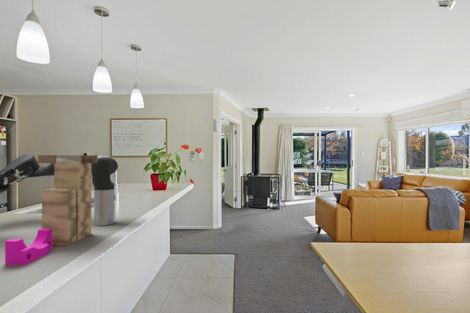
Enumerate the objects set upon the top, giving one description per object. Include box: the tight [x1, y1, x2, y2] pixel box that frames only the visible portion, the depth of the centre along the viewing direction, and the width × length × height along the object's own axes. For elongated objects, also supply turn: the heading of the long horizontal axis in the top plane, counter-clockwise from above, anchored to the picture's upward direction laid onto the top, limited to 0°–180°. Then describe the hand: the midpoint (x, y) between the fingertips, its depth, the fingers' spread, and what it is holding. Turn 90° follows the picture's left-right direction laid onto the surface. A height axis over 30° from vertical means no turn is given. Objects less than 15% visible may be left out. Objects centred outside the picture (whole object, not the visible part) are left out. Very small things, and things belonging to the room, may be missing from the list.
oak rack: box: [41, 154, 92, 246], centre depth 113 cm, size 16×10×34 cm, turn 176°
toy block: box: [4, 228, 53, 266], centre depth 94 cm, size 15×6×8 cm, turn 175°
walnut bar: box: [37, 154, 98, 164], centre depth 116 cm, size 3×24×3 cm, turn 86°
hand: (23, 169), depth 115 cm, fingers open, 8 cm apart
